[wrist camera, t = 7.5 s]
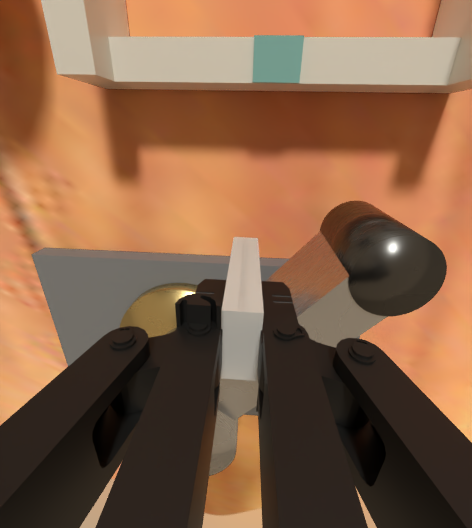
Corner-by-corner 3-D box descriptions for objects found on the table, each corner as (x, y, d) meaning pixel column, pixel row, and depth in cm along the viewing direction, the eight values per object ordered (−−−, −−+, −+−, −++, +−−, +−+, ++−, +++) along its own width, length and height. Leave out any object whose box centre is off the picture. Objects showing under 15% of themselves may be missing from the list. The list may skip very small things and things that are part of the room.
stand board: (87, 390, 25) (80, 401, 24) (44, 247, 19) (31, 254, 18) (333, 408, 24) (336, 421, 23) (370, 262, 18) (377, 271, 17)
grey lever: (102, 336, 20) (34, 427, 14) (290, 121, 14) (319, 110, 7) (196, 397, 23) (173, 499, 16) (400, 238, 16) (495, 307, 9)
